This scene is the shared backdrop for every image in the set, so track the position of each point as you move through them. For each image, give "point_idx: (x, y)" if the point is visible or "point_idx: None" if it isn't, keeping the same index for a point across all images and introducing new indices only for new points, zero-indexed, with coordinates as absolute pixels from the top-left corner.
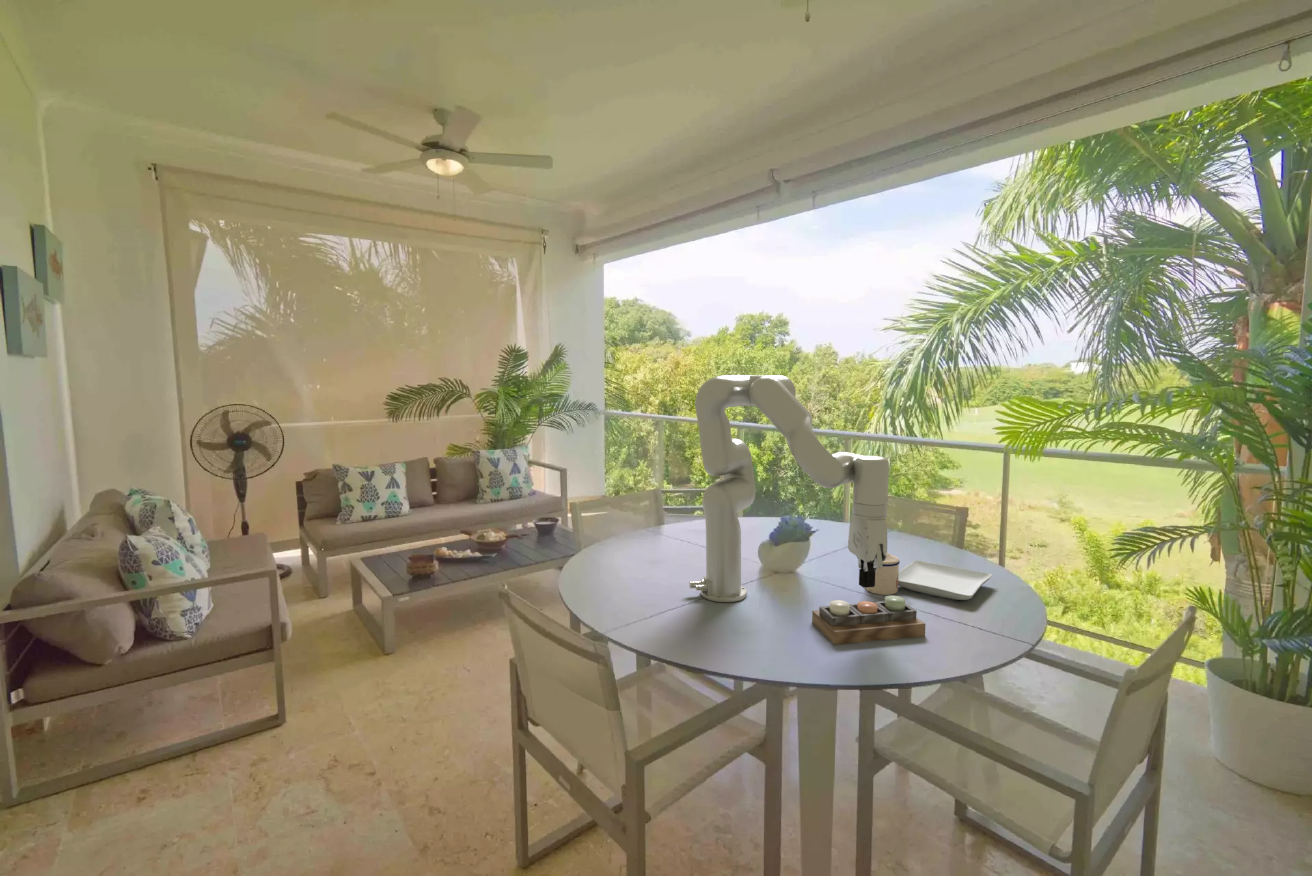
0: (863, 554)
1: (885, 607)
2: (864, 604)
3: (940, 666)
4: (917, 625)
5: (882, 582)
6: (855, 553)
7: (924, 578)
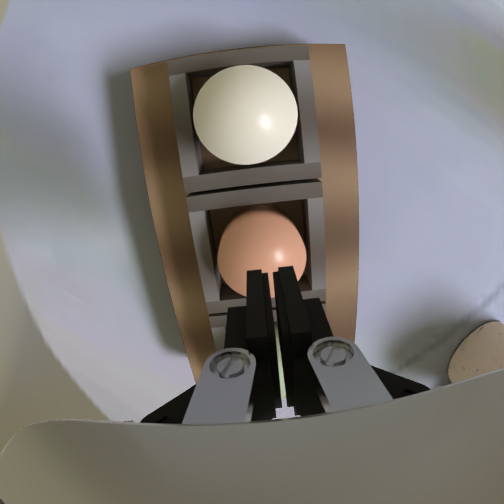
0: (65, 487)
1: (276, 325)
2: (265, 247)
3: (51, 314)
4: (190, 363)
5: (472, 368)
6: (346, 434)
7: None
